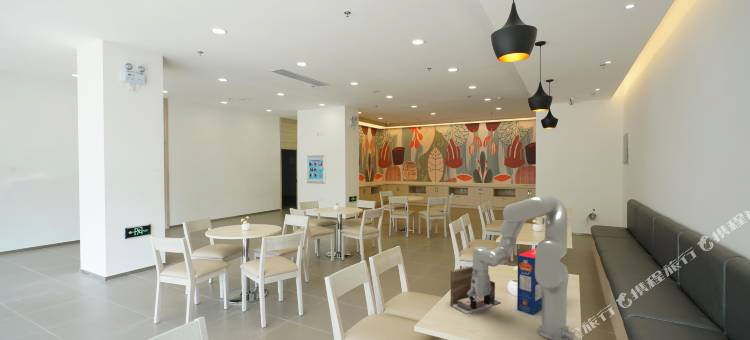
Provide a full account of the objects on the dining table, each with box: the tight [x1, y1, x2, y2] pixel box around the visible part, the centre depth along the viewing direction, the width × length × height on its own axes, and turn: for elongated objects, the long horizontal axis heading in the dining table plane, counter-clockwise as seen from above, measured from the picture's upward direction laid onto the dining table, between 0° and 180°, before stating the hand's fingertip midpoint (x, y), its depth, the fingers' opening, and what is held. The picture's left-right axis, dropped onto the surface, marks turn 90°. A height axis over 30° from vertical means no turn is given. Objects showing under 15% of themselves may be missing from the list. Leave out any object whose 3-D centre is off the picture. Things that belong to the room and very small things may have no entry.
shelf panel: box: [450, 265, 473, 307], centre depth 189 cm, size 2×20×18 cm, turn 122°
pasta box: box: [516, 248, 542, 316], centre depth 185 cm, size 28×8×28 cm, turn 132°
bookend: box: [490, 280, 502, 306], centre depth 190 cm, size 10×6×12 cm, turn 32°
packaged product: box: [451, 296, 493, 315], centre depth 183 cm, size 18×5×10 cm
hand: (480, 306), depth 178 cm, fingers open, 9 cm apart
